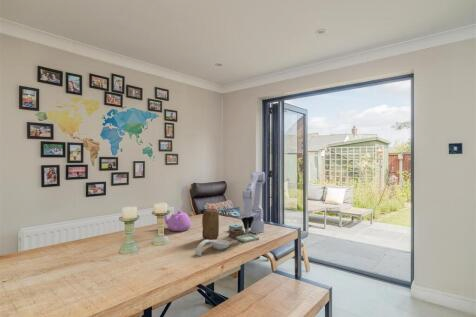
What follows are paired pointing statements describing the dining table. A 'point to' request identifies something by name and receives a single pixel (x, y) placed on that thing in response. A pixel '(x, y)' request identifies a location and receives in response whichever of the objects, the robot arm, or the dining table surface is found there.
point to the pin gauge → (247, 229)
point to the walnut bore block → (236, 232)
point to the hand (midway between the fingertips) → (247, 228)
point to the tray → (247, 238)
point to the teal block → (235, 226)
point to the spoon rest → (216, 244)
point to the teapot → (178, 221)
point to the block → (210, 224)
